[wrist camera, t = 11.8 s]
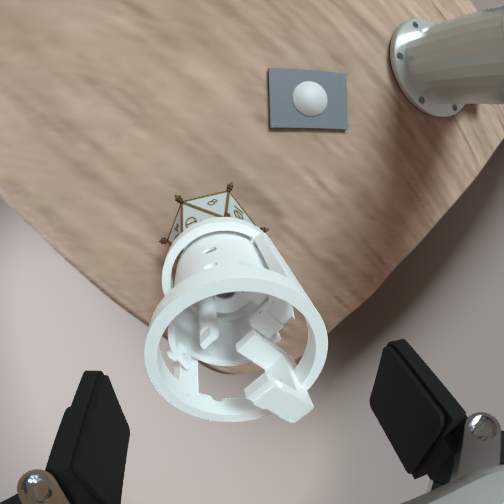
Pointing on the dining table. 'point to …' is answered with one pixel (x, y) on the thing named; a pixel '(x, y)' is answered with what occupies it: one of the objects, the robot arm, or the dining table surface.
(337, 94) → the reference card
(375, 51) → the dining table surface
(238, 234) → the white cylindrical housing
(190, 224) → the game die
